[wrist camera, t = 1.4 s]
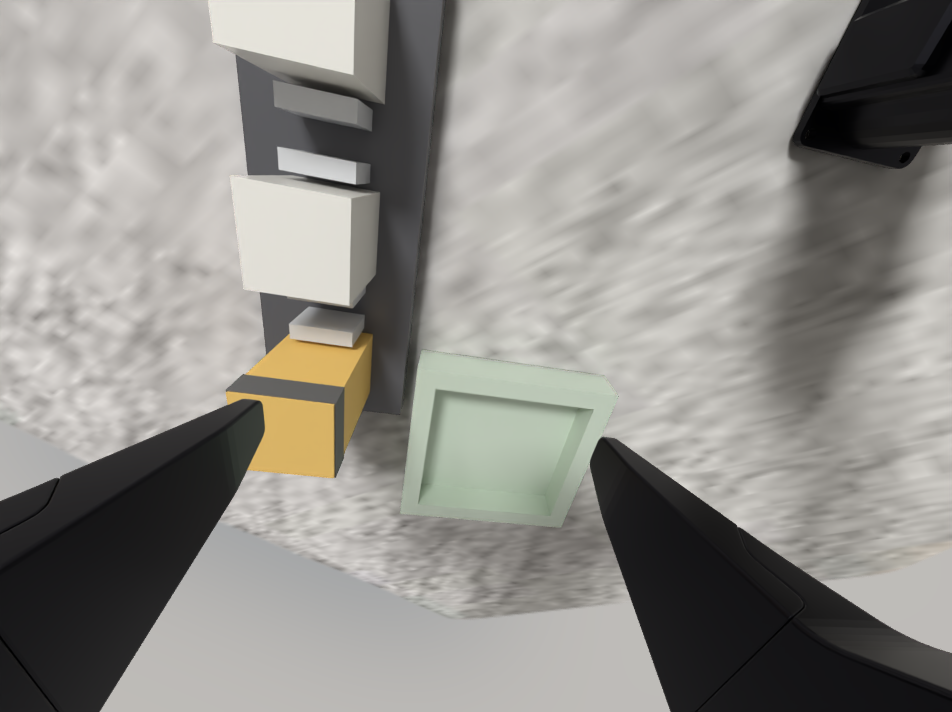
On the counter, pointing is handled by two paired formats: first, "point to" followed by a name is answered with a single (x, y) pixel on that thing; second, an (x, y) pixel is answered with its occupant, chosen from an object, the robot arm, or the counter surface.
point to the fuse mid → (305, 236)
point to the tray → (500, 439)
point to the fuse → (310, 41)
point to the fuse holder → (357, 186)
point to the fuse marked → (307, 403)
